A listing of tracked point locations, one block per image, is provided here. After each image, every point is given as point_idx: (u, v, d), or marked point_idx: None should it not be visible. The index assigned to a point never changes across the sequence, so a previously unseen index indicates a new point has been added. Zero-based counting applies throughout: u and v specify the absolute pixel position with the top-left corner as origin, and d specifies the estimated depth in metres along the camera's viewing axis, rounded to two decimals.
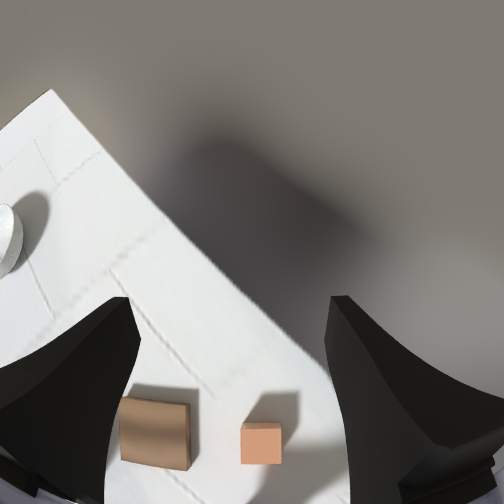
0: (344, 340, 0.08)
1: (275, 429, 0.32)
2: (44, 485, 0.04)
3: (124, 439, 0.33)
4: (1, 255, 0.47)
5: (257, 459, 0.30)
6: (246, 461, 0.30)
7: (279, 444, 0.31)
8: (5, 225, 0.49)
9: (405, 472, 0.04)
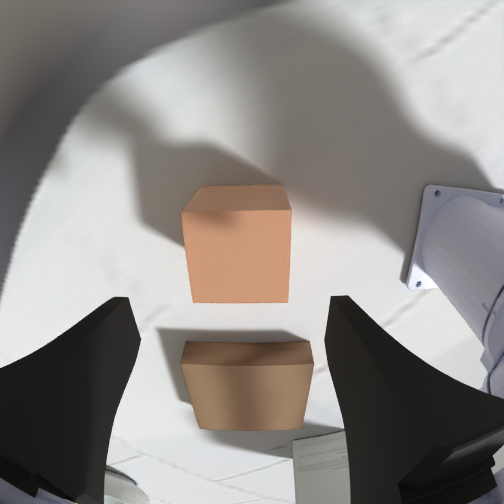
0: (344, 340, 0.08)
1: (185, 226, 0.14)
2: (44, 485, 0.04)
3: (265, 426, 0.25)
4: None
5: (275, 268, 0.15)
6: (281, 292, 0.15)
7: (229, 216, 0.13)
8: None
9: (405, 472, 0.04)
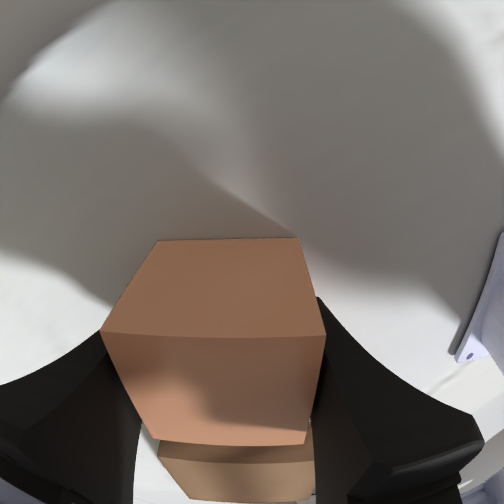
0: None
1: (113, 353, 0.06)
2: (77, 500, 0.04)
3: (265, 500, 0.18)
4: None
5: (285, 414, 0.07)
6: (293, 436, 0.08)
7: (192, 345, 0.06)
8: None
9: (352, 484, 0.04)
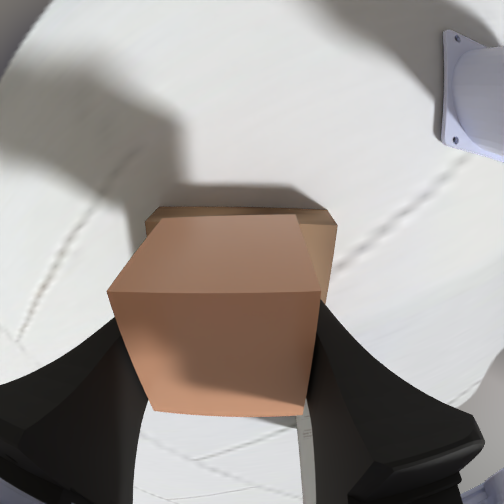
0: None
1: (118, 314, 0.07)
2: (77, 499, 0.04)
3: None
4: None
5: (284, 379, 0.08)
6: (292, 405, 0.08)
7: (195, 301, 0.07)
8: None
9: (353, 484, 0.04)
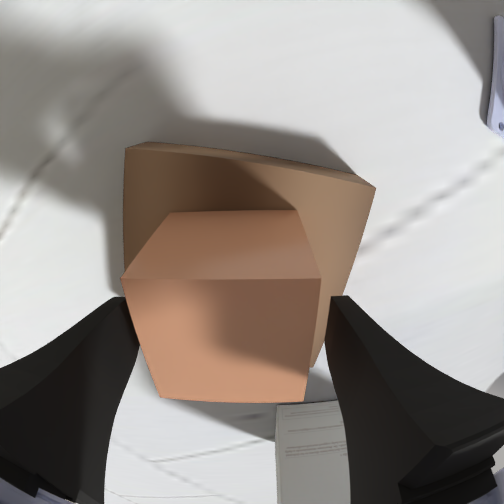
0: (344, 340, 0.08)
1: (130, 301, 0.07)
2: (44, 485, 0.04)
3: None
4: None
5: (286, 363, 0.08)
6: (293, 391, 0.09)
7: (204, 287, 0.07)
8: None
9: (405, 472, 0.04)
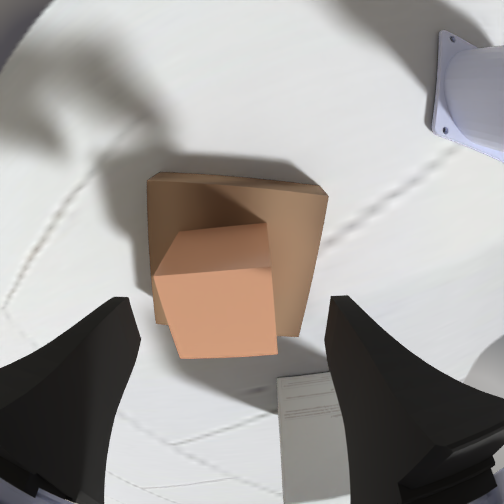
0: (344, 340, 0.08)
1: (159, 289, 0.13)
2: (44, 485, 0.04)
3: None
4: None
5: (259, 324, 0.13)
6: (269, 345, 0.14)
7: (203, 277, 0.12)
8: None
9: (405, 472, 0.04)
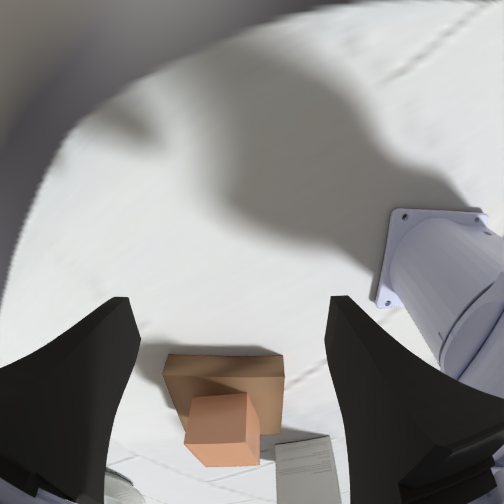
0: (344, 340, 0.08)
1: (188, 447, 0.20)
2: (44, 485, 0.04)
3: None
4: None
5: (245, 457, 0.20)
6: (253, 462, 0.21)
7: (210, 445, 0.19)
8: None
9: (405, 472, 0.04)
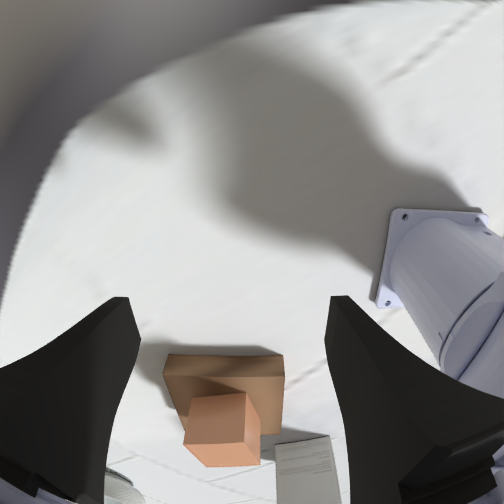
0: (344, 340, 0.08)
1: (188, 448, 0.20)
2: (44, 485, 0.04)
3: None
4: None
5: (245, 457, 0.20)
6: (253, 462, 0.21)
7: (210, 445, 0.19)
8: None
9: (405, 472, 0.04)
